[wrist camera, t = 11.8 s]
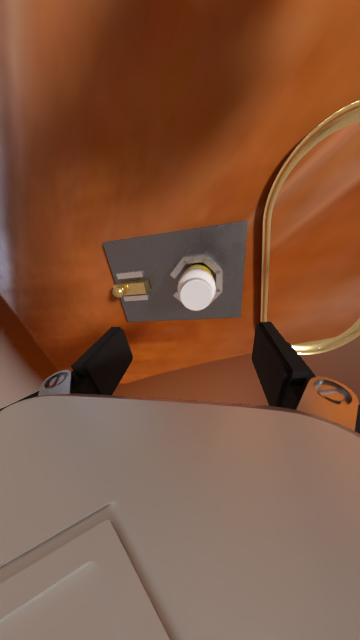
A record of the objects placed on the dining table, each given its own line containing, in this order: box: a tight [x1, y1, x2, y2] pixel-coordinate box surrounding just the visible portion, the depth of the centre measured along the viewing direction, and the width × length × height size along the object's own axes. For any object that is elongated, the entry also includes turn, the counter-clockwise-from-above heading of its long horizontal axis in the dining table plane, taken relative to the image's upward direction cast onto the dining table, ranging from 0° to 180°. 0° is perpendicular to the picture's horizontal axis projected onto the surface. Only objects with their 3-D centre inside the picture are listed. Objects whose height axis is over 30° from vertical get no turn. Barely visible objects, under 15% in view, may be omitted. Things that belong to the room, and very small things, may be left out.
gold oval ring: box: [260, 100, 360, 355], centre depth 24 cm, size 19×35×2 cm, turn 13°
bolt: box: [112, 279, 150, 298], centre depth 27 cm, size 2×6×4 cm, turn 97°
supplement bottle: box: [177, 264, 216, 311], centre depth 23 cm, size 5×5×10 cm
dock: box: [103, 220, 248, 322], centre depth 27 cm, size 16×24×4 cm, turn 97°
